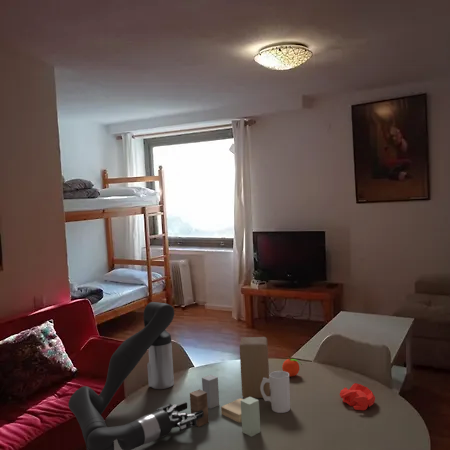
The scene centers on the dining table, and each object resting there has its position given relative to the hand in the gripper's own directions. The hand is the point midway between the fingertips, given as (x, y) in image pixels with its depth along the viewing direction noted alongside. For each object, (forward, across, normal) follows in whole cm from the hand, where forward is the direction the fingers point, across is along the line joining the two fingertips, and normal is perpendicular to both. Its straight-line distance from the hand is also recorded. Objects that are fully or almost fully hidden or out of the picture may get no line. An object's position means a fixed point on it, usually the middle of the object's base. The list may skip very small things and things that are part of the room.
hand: (194, 409), depth 147 cm
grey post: (+13, -7, -5) cm, 16 cm away
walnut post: (+2, 0, -5) cm, 6 cm away
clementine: (+52, -3, -5) cm, 52 cm away
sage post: (+9, +17, -5) cm, 20 cm away
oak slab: (+15, +5, -6) cm, 17 cm away
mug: (+26, +12, -5) cm, 29 cm away
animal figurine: (+49, +29, -5) cm, 57 cm away
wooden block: (+31, -2, -5) cm, 31 cm away
